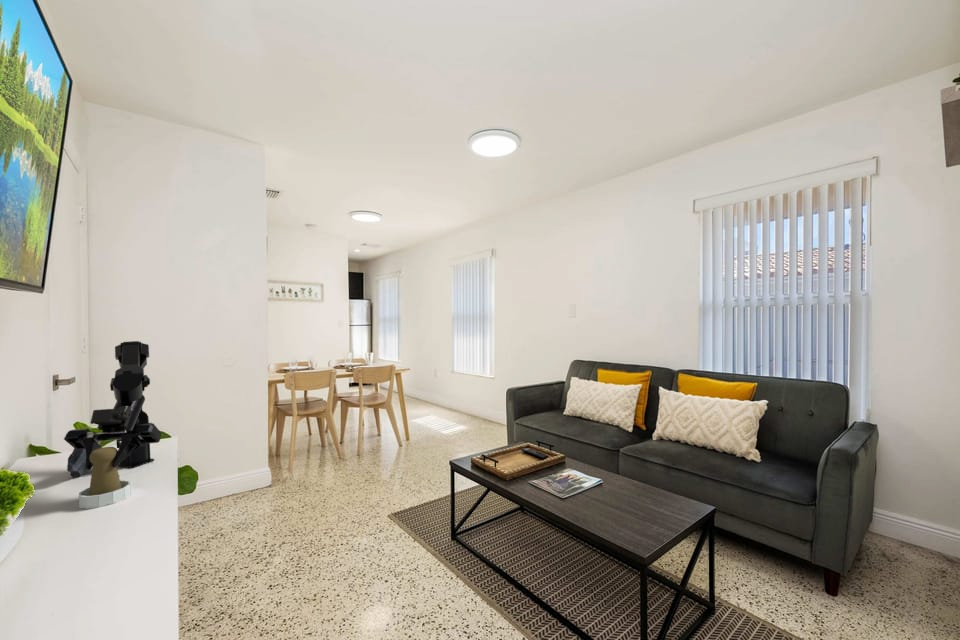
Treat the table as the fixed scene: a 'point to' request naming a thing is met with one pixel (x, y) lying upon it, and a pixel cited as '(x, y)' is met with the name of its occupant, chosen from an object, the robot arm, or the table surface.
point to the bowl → (104, 496)
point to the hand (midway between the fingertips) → (100, 467)
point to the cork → (104, 471)
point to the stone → (77, 462)
